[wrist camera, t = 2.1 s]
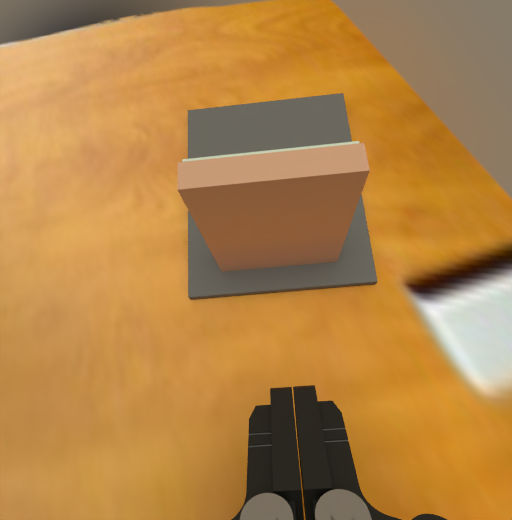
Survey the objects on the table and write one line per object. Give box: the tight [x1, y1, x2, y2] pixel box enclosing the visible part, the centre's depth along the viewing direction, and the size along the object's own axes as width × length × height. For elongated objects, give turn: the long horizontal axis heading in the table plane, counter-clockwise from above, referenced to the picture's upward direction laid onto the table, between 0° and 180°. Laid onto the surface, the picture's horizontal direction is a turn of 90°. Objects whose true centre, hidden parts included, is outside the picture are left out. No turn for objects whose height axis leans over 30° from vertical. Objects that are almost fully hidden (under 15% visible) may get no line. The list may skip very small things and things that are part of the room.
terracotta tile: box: [178, 141, 370, 272], centre depth 27 cm, size 2×10×14 cm, turn 93°
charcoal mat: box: [188, 93, 377, 300], centre depth 36 cm, size 20×16×1 cm
